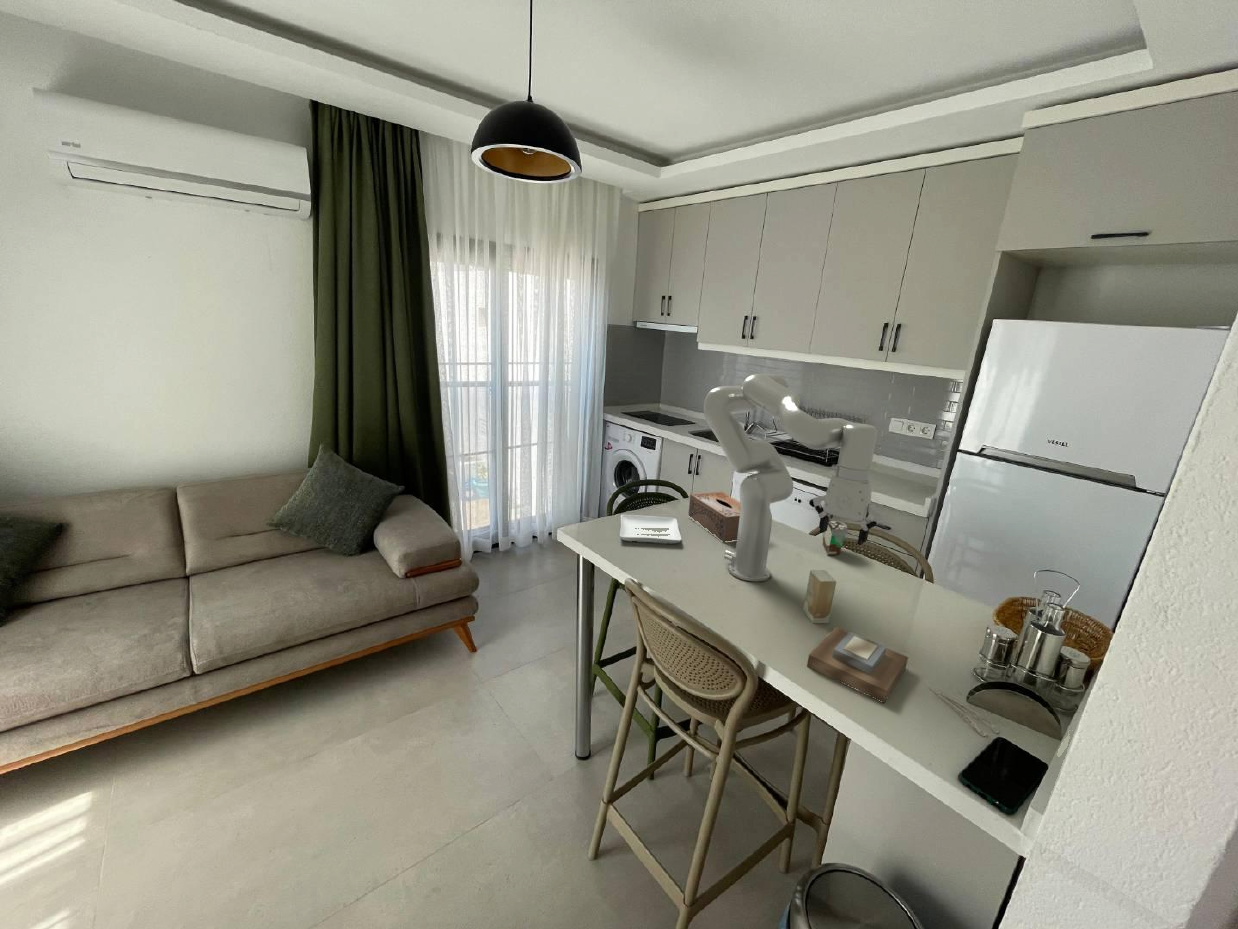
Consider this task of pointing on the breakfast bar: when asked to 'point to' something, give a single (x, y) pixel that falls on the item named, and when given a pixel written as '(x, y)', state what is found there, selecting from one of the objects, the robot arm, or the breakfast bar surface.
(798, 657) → the breakfast bar surface
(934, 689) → the tweezers
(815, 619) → the skincare box
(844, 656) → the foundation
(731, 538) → the tissue box cover
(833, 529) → the food container
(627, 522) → the salad plate
